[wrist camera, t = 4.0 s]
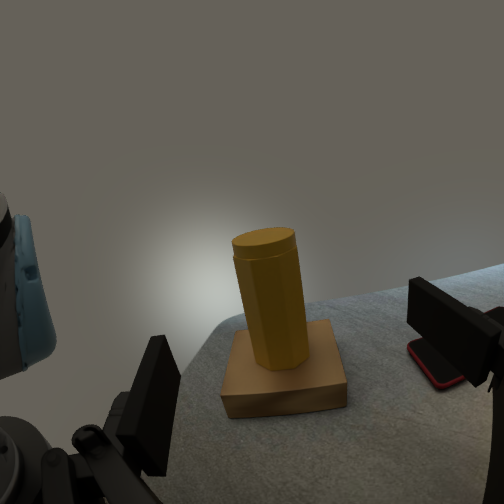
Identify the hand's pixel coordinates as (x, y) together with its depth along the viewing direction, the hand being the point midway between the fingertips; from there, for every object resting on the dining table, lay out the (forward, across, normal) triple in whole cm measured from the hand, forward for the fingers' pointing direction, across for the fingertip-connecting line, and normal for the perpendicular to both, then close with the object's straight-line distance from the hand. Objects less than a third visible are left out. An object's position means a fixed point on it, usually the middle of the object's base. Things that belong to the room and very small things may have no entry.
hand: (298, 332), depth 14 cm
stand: (+9, 0, -11) cm, 14 cm away
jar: (+9, 0, -8) cm, 12 cm away
